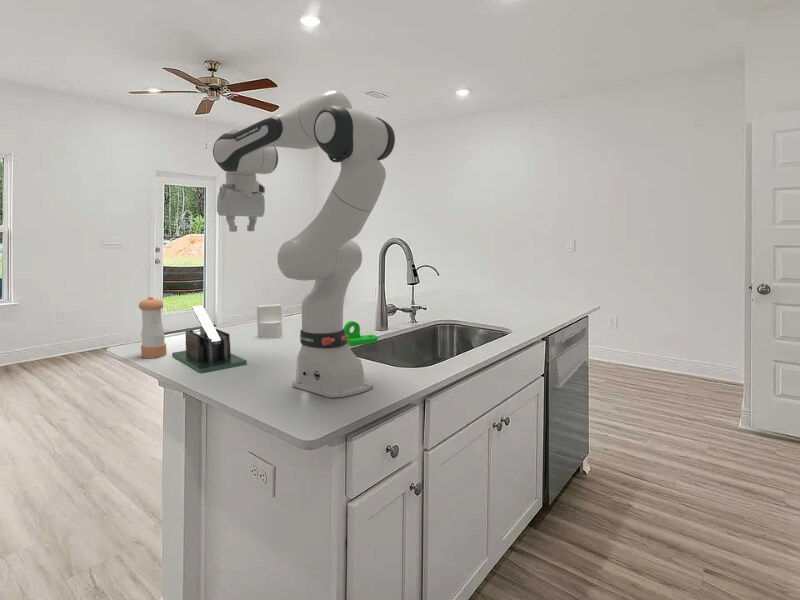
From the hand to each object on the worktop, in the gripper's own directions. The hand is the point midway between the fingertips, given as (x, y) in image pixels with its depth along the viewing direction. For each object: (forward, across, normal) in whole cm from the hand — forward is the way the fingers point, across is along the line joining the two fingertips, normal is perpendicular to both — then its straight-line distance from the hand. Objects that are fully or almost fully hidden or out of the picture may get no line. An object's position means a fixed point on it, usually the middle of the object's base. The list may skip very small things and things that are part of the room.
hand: (242, 231), depth 151 cm
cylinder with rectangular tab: (+41, +29, +8) cm, 51 cm away
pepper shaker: (+41, -8, +28) cm, 50 cm away
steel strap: (+30, -7, +9) cm, 32 cm away
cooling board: (+40, -7, +8) cm, 42 cm away
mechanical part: (+40, +31, -29) cm, 58 cm away
